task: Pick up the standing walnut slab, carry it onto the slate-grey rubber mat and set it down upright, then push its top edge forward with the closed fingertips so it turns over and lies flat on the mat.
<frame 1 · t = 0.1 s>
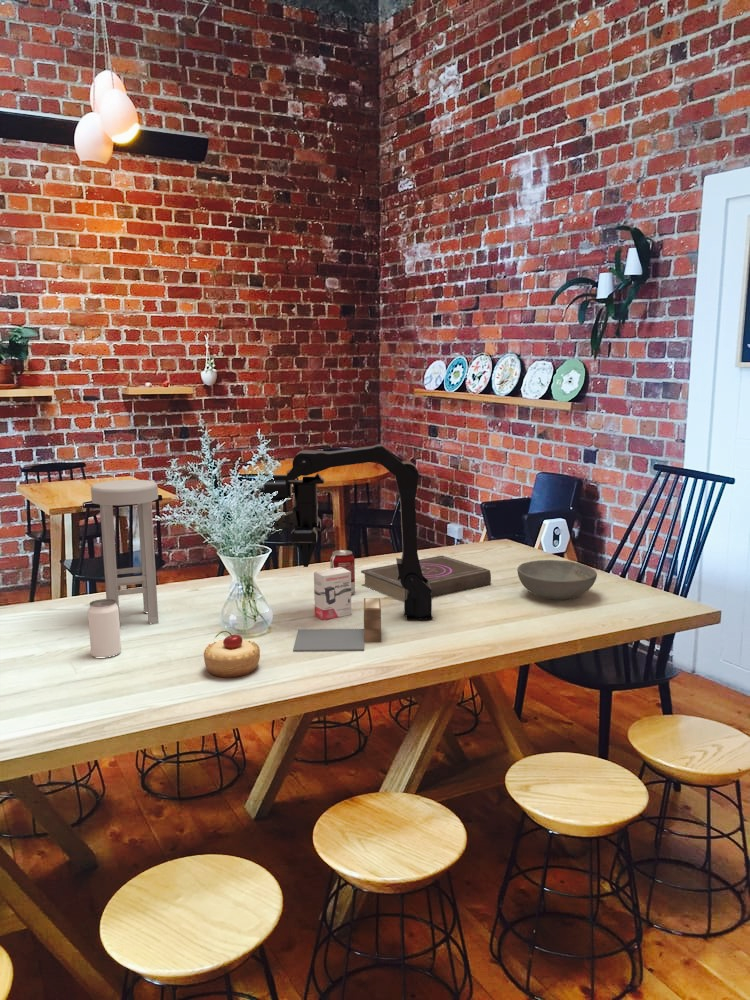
hand: (307, 562, 201), 15 cm above the table, fingers open, 9 cm apart
can: (106, 654, 179), on the table
bowl: (556, 597, 220), on the table
slab: (372, 636, 190), on the table
stool: (132, 620, 203), on the table
pastry: (232, 670, 170), on the table
ink box: (333, 615, 205), on the table
book: (425, 587, 232), on the table
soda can: (342, 594, 224), on the table
mat: (329, 640, 187), on the table
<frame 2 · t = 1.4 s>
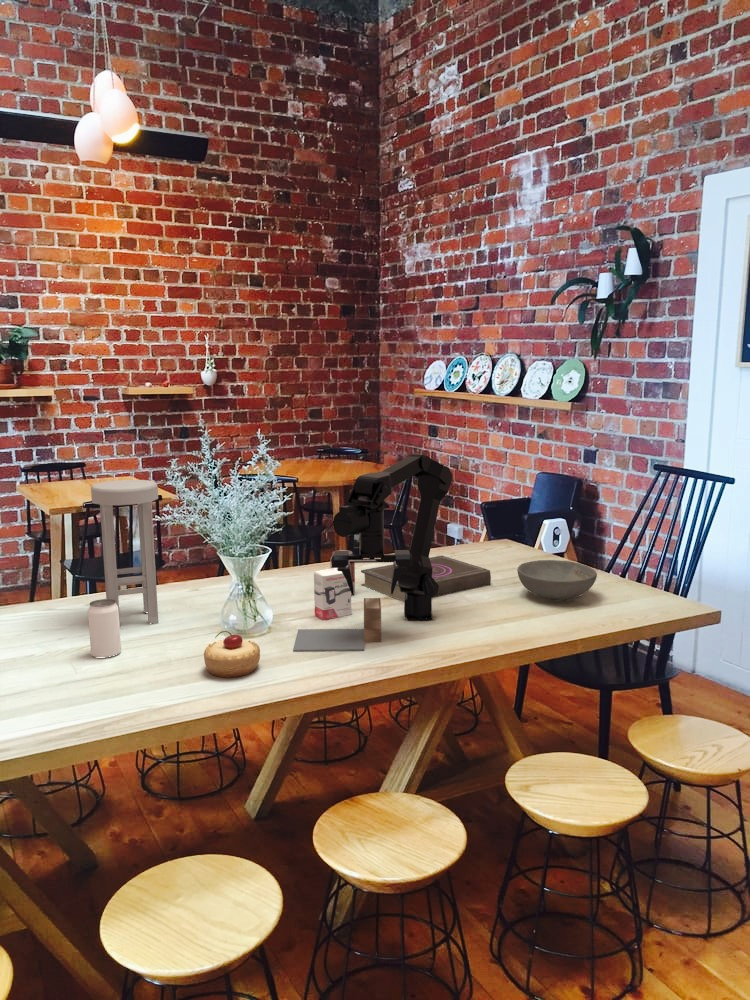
hand: (372, 594, 188), 10 cm above the table, fingers open, 9 cm apart
nothing on the table moved.
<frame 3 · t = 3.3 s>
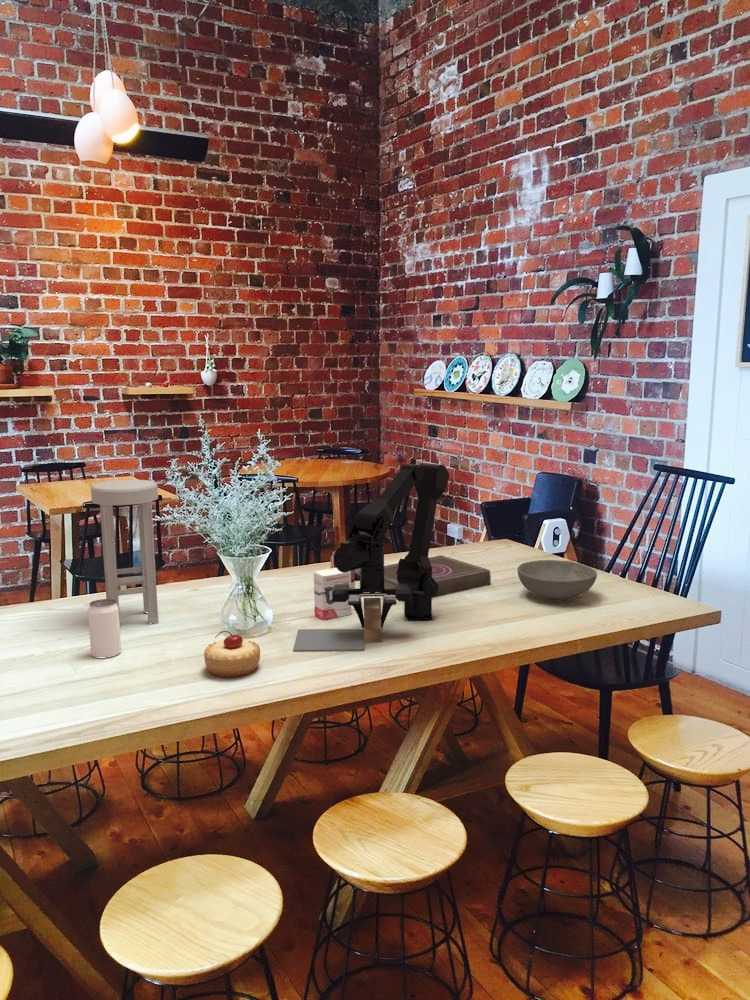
hand: (372, 627, 189), 2 cm above the table, fingers closed on slab, 4 cm apart
slab: (372, 635, 190), on the table, touching gripper
everything else where it was.
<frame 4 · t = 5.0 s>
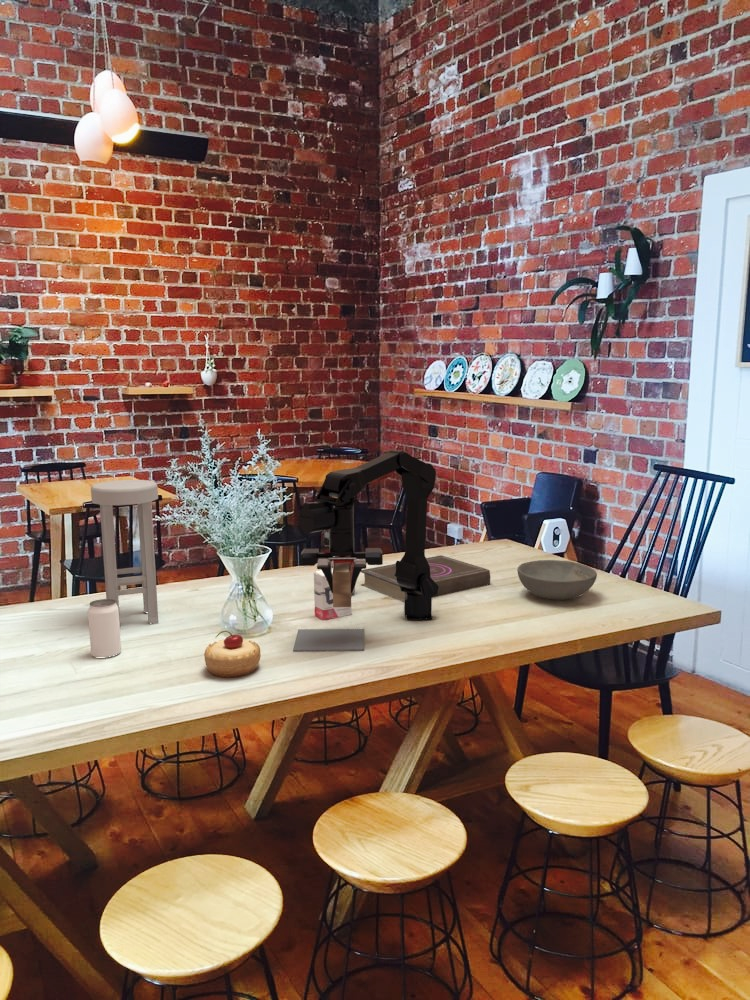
hand: (342, 592, 185), 12 cm above the table, fingers closed on slab, 4 cm apart
slab: (342, 601, 185), point 10 cm above the table, touching gripper
everything else where it was.
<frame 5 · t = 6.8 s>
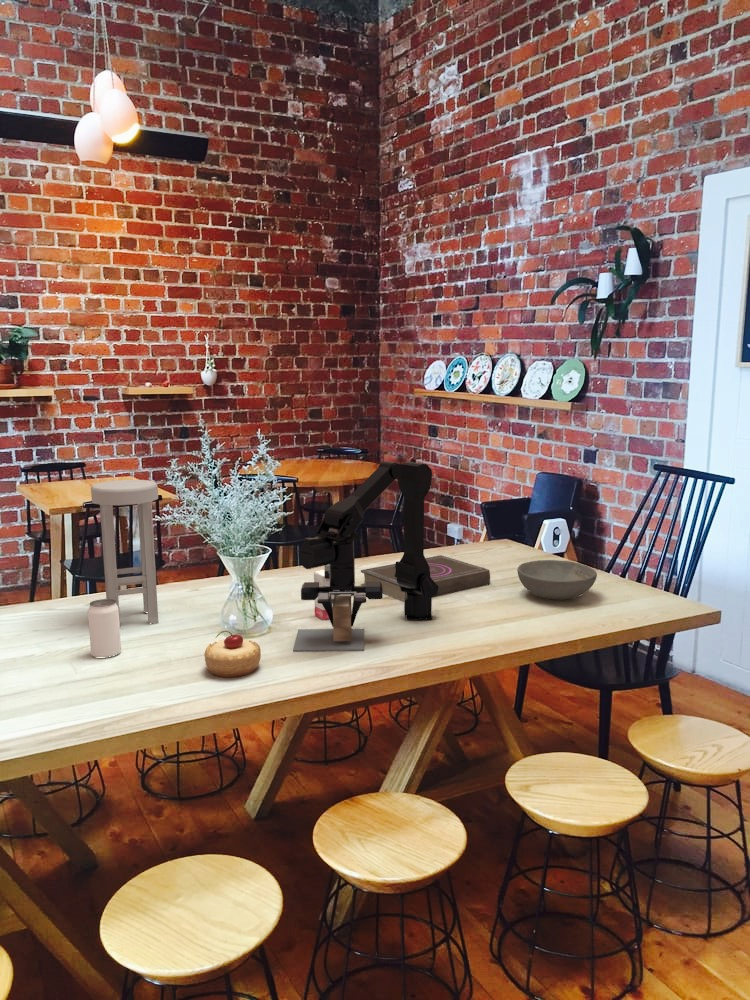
hand: (342, 626, 186), 3 cm above the table, fingers closed on slab, 4 cm apart
slab: (342, 634, 186), point 1 cm above the table, touching gripper
everything else where it was.
when the fingers open (3 cm above the table, at t = 6.8 s): slab drops 1 cm, resting on mat.
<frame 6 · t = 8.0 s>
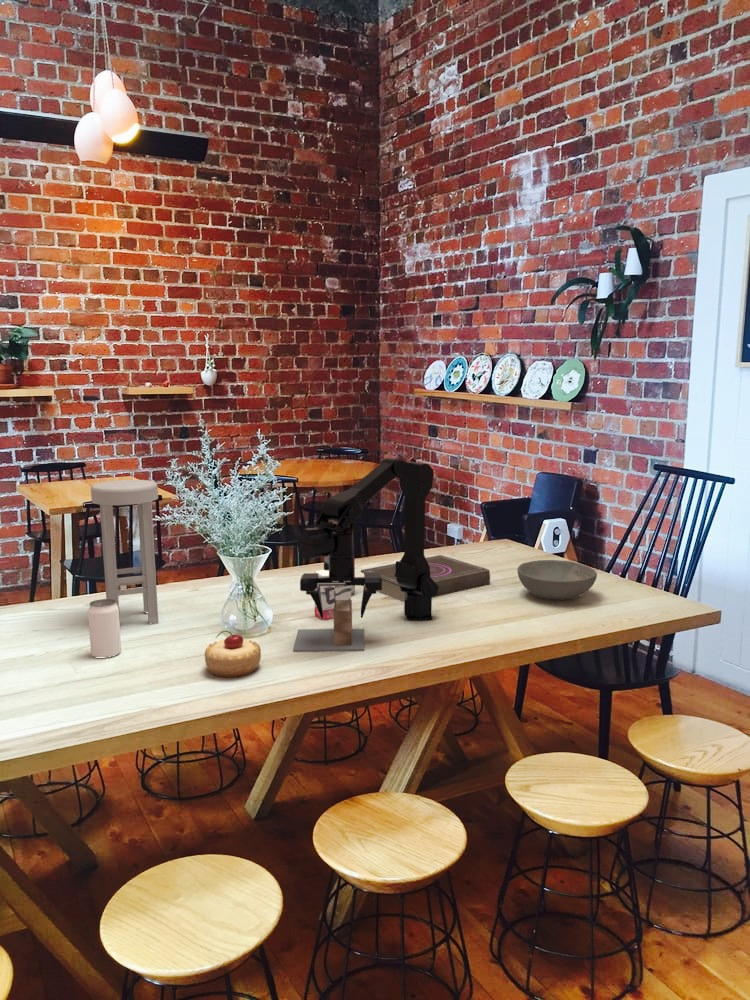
hand: (341, 617, 185), 6 cm above the table, fingers open, 9 cm apart
slab: (343, 638, 186), resting on mat
everything else where it was.
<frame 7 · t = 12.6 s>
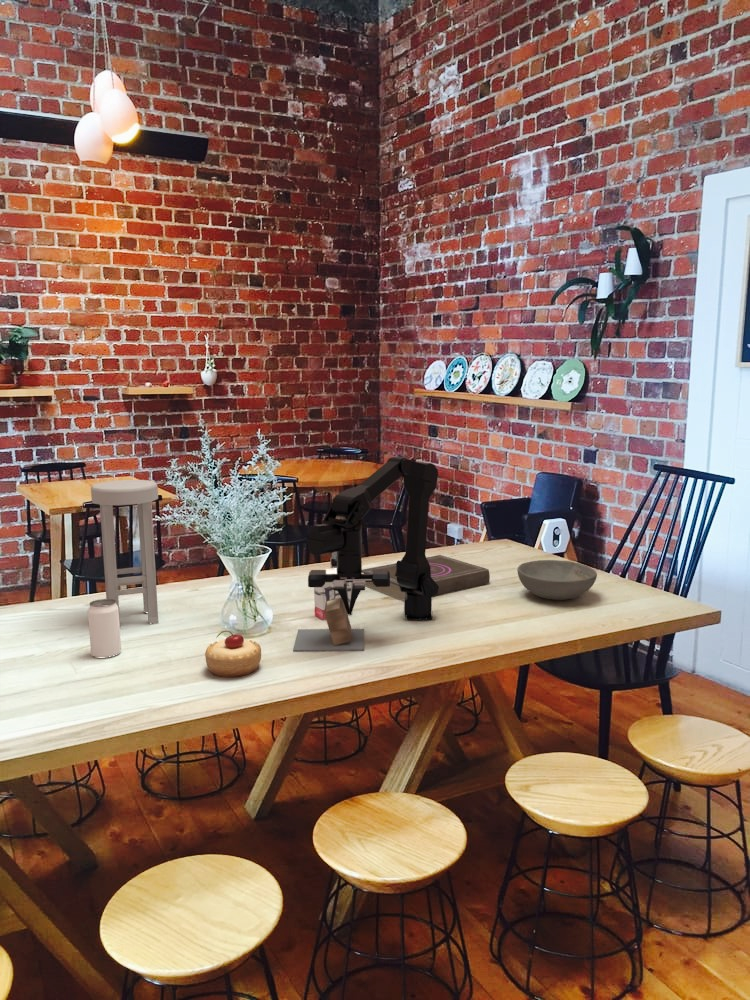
hand: (349, 614, 185), 6 cm above the table, fingers closed
slab: (342, 636, 186), point 1 cm above the table, tilted 15°, touching mat
everything else where it was.
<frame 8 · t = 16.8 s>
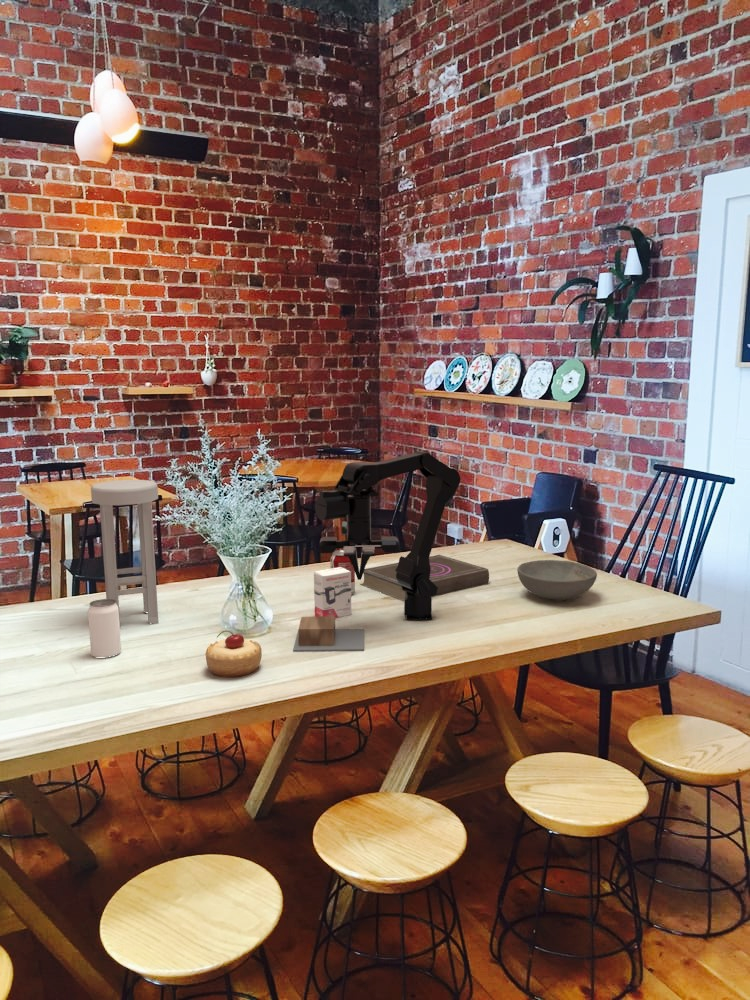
hand: (359, 579, 192), 13 cm above the table, fingers closed
slab: (334, 630, 186), point 2 cm above the table, tilted 90°, touching mat
everything else where it was.
at the end: slab tilted 90°; slab inside the target area (4.1 cm from its centre), point 2.4 cm above the table; the gripper is holding nothing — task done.
